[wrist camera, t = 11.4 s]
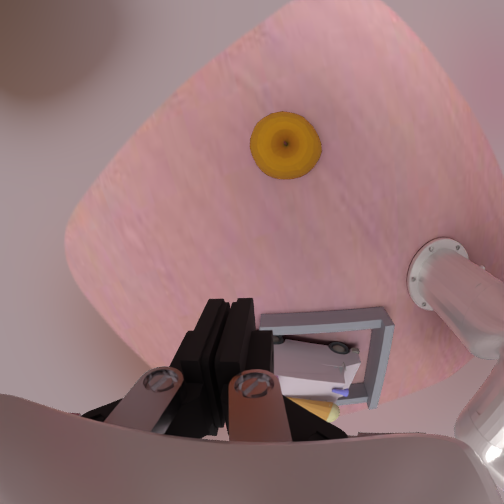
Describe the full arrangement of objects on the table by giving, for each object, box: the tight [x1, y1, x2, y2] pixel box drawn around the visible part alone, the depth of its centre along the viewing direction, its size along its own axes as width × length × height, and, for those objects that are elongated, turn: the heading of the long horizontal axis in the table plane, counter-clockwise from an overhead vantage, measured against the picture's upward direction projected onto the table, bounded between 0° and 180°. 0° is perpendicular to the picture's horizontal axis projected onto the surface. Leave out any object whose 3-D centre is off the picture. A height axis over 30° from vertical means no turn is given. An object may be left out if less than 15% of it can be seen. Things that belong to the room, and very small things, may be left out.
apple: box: [250, 111, 322, 179], centre depth 35 cm, size 9×8×9 cm
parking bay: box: [259, 307, 395, 410], centre depth 46 cm, size 20×18×6 cm
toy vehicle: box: [273, 335, 361, 422], centre depth 42 cm, size 9×20×15 cm, turn 80°
